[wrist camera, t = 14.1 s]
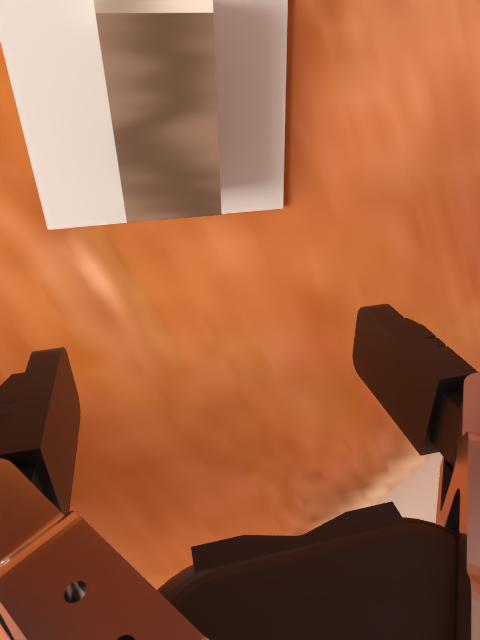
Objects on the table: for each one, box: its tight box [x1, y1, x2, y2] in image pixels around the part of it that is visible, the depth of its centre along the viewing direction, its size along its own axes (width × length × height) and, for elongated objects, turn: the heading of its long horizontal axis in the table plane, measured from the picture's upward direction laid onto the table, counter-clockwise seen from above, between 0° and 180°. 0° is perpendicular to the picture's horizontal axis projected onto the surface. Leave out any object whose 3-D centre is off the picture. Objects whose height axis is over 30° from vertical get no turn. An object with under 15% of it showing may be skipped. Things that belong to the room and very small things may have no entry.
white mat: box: [0, 0, 288, 230], centre depth 26 cm, size 15×13×1 cm
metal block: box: [93, 0, 222, 223], centre depth 23 cm, size 5×5×10 cm
